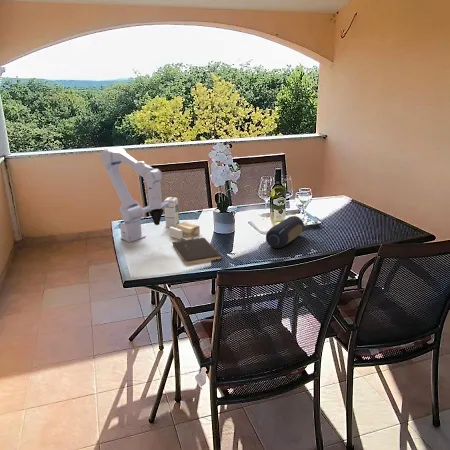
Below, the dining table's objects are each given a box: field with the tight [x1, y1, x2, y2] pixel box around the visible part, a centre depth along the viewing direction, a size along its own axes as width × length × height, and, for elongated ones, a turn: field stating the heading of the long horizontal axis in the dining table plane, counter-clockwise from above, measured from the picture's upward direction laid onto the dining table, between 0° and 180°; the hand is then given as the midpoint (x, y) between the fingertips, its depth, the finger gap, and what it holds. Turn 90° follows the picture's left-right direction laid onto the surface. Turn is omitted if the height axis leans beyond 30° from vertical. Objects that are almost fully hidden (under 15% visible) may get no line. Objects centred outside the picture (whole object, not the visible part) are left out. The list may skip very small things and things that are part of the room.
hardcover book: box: [171, 237, 223, 265], centre depth 191 cm, size 16×23×2 cm
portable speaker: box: [265, 215, 305, 249], centre depth 200 cm, size 25×10×10 cm, turn 146°
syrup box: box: [163, 196, 180, 228], centre depth 223 cm, size 6×6×14 cm
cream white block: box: [168, 227, 186, 241], centre depth 207 cm, size 4×10×4 cm, turn 46°
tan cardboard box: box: [176, 221, 201, 241], centre depth 209 cm, size 16×12×4 cm
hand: (156, 224), depth 198 cm, fingers closed
